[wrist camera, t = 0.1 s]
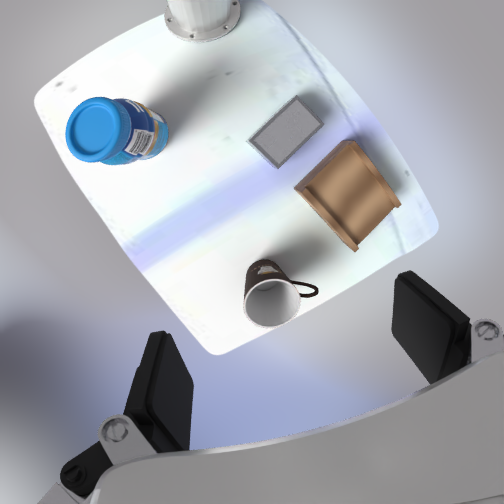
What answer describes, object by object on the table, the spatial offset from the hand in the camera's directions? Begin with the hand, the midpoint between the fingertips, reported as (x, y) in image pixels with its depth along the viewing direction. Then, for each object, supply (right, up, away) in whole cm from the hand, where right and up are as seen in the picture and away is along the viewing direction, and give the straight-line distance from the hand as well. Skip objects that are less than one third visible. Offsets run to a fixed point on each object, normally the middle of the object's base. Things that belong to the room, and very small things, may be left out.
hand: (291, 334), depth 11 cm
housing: (+3, +22, +32) cm, 39 cm away
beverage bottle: (-19, +22, +30) cm, 42 cm away
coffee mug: (+2, -1, +41) cm, 41 cm away
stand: (+14, +14, +36) cm, 41 cm away
